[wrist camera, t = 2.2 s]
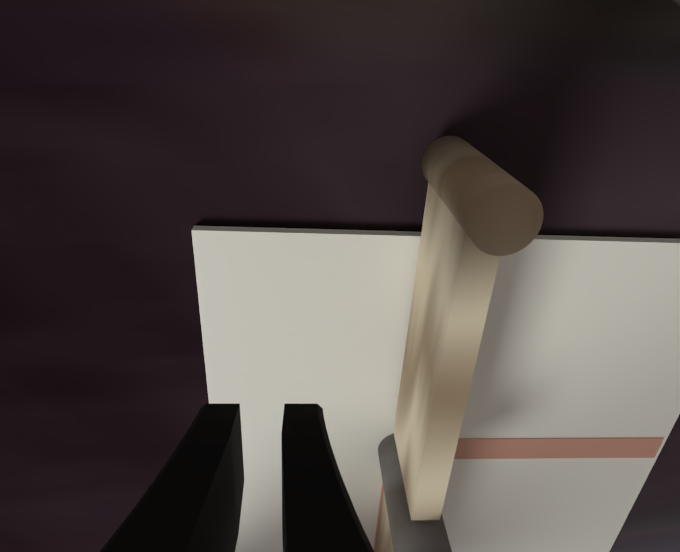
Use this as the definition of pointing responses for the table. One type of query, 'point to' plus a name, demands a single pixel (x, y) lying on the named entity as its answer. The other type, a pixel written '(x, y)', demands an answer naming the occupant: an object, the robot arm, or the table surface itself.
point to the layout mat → (486, 387)
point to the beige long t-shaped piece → (452, 306)
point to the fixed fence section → (403, 512)
